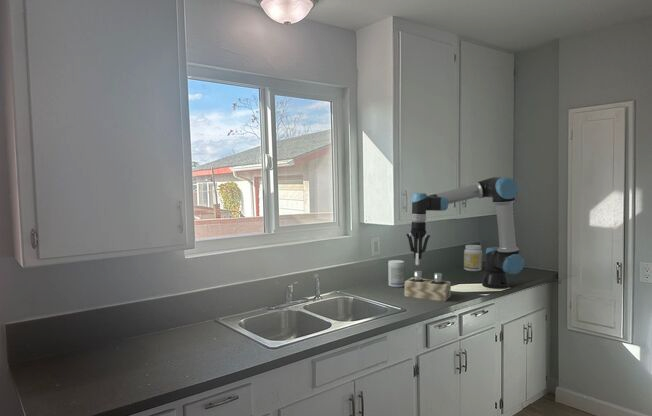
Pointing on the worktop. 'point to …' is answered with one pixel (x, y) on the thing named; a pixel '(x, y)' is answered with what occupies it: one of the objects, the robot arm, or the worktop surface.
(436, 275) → the inner peg
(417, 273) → the outer peg
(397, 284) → the supplement tub
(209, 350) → the worktop surface
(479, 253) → the supplement tub
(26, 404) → the worktop surface
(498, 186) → the robot arm
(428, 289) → the block
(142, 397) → the worktop surface
